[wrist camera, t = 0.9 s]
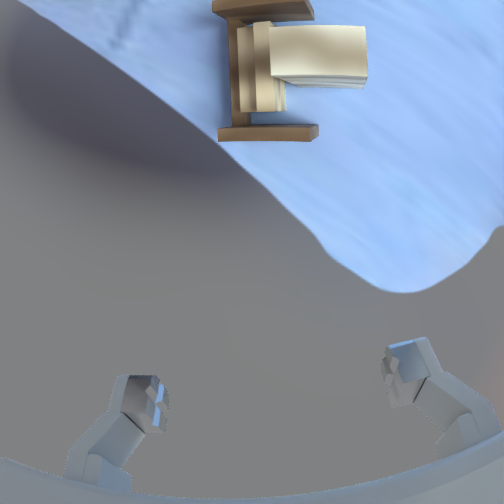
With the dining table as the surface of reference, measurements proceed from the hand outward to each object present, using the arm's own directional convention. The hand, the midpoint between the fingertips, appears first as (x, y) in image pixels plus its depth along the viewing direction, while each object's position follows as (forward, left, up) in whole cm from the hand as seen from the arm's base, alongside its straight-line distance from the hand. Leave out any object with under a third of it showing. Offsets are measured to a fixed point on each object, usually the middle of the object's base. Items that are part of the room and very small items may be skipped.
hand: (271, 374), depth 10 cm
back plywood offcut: (-14, -10, -35) cm, 39 cm away
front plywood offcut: (-14, -8, -34) cm, 38 cm away
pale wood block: (-14, -1, -34) cm, 37 cm away
